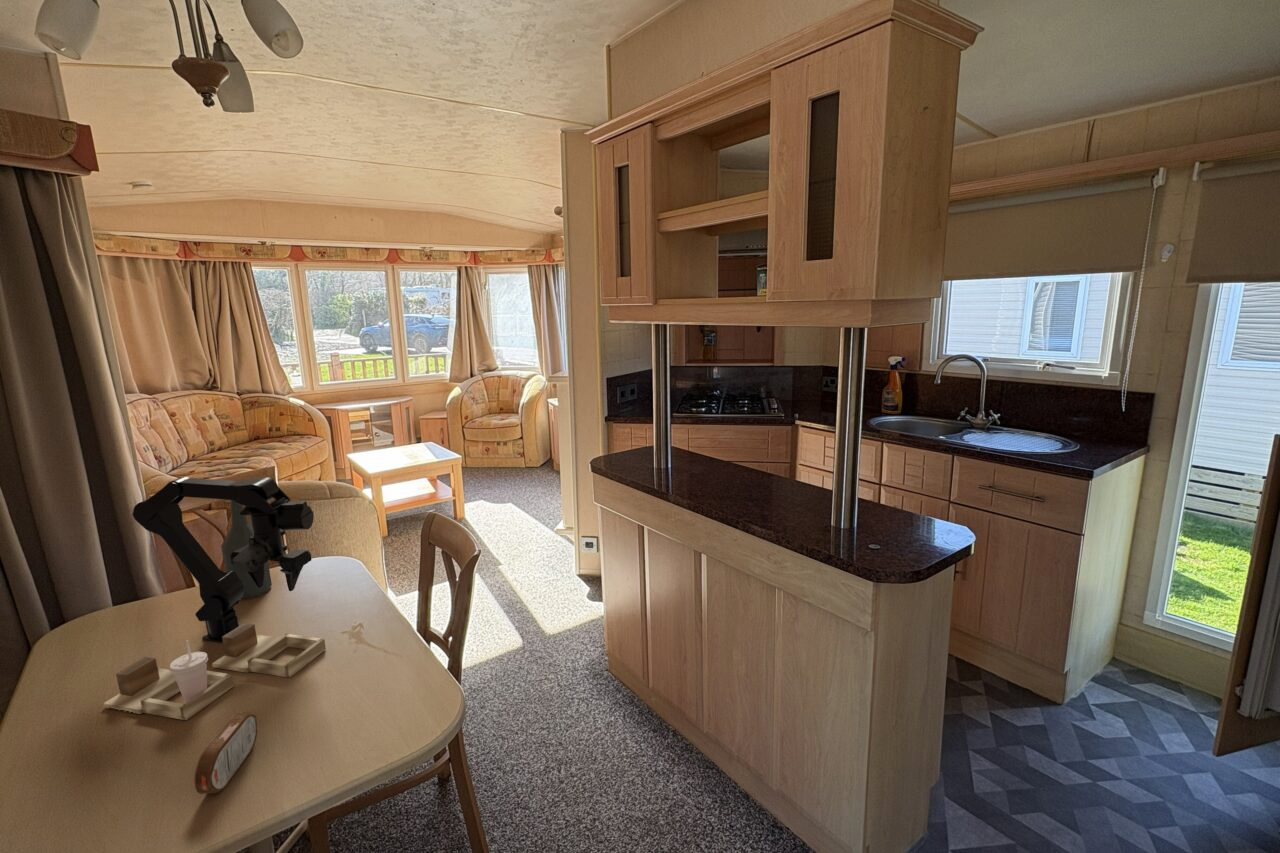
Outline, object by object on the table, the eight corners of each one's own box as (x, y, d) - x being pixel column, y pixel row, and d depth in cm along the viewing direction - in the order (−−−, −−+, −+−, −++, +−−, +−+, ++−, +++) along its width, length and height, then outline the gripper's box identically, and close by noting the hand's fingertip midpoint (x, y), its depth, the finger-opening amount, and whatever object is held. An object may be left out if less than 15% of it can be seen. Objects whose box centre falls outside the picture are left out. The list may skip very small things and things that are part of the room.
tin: (246, 740, 114) (239, 702, 112) (264, 739, 114) (257, 701, 113) (196, 806, 99) (187, 763, 98) (216, 805, 100) (207, 762, 98)
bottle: (226, 592, 172) (208, 493, 165) (265, 580, 179) (249, 484, 172) (236, 604, 165) (218, 501, 158) (276, 591, 172) (260, 492, 165)
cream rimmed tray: (104, 707, 124) (98, 682, 122) (161, 672, 135) (156, 648, 134) (183, 722, 119) (178, 695, 118) (235, 684, 130) (231, 660, 129)
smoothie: (222, 691, 128) (211, 633, 125) (199, 712, 122) (186, 651, 119) (194, 690, 129) (182, 632, 126) (169, 710, 123) (156, 650, 120)
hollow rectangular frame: (212, 667, 137) (208, 643, 135) (256, 638, 148) (252, 616, 147) (288, 678, 132) (284, 654, 131) (327, 648, 143) (324, 625, 142)
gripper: (205, 540, 139) (216, 600, 143) (271, 546, 135) (281, 609, 139) (245, 522, 150) (255, 579, 153) (308, 528, 146) (317, 586, 149)
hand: (276, 588), depth 148 cm, fingers open, 9 cm apart
